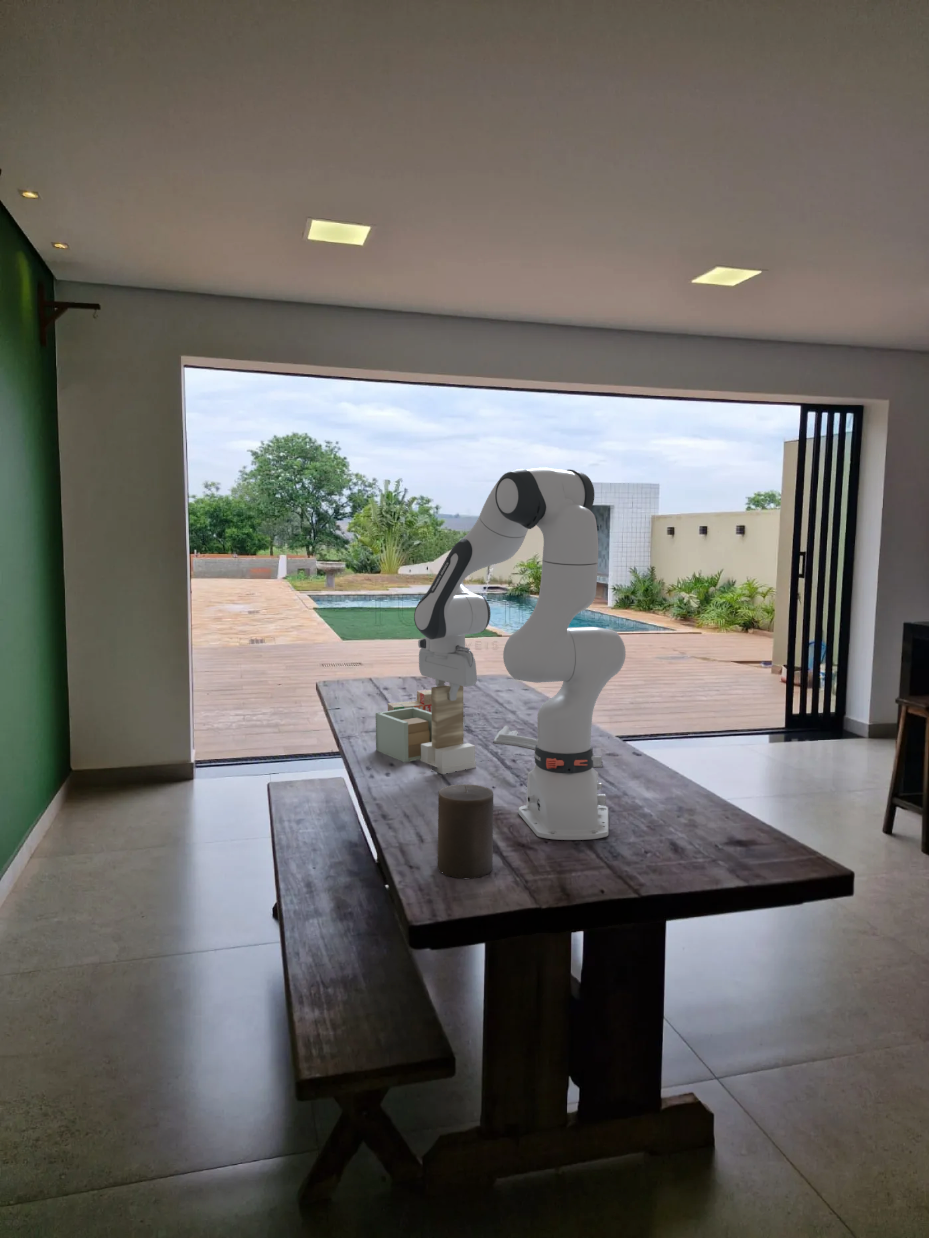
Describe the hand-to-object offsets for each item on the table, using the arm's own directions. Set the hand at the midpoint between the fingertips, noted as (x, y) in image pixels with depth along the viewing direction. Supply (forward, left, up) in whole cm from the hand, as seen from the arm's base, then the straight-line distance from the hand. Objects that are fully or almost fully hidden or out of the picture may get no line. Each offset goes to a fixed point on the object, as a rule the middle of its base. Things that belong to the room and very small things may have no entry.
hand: (447, 698), depth 204 cm
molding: (+16, -27, -18) cm, 36 cm away
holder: (0, 0, -17) cm, 17 cm away
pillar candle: (-62, -3, -17) cm, 65 cm away
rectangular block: (0, 0, -12) cm, 12 cm away
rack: (+9, +10, -17) cm, 22 cm away
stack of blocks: (+34, +6, -18) cm, 39 cm away
